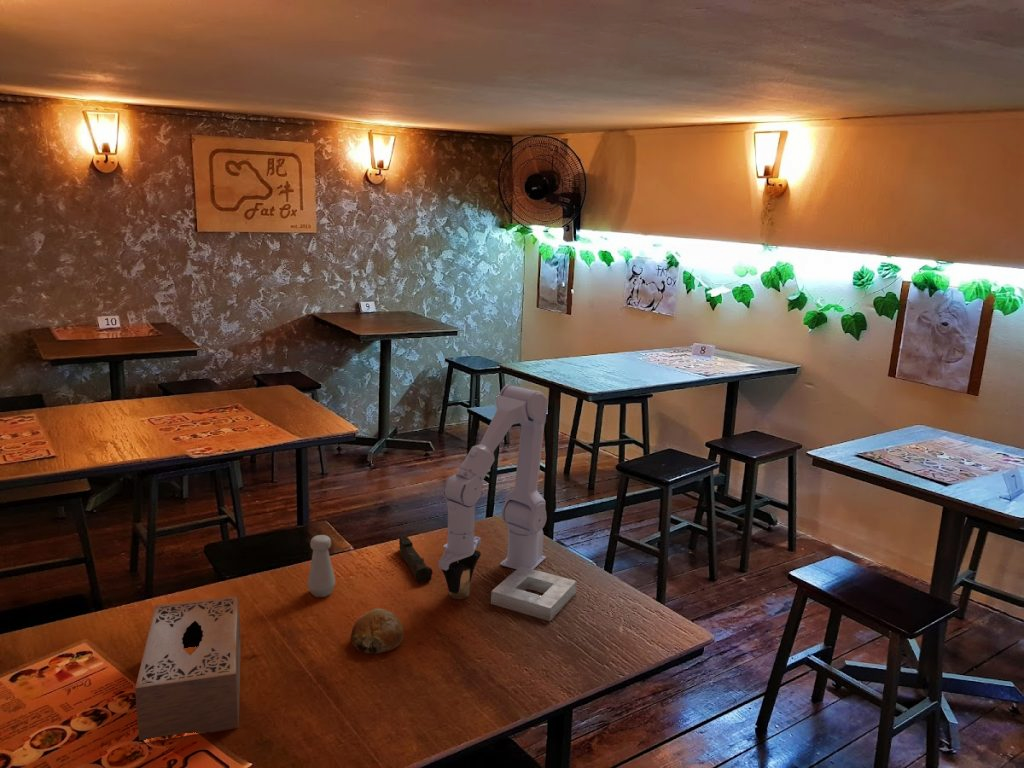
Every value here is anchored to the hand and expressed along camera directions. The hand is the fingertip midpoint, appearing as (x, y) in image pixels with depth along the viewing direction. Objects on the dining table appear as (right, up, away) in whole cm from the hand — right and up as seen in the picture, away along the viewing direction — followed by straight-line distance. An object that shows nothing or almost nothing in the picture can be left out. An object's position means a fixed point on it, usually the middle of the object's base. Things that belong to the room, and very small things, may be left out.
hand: (459, 587), depth 166 cm
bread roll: (-15, -6, -19) cm, 25 cm away
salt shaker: (-30, -1, -1) cm, 30 cm away
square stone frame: (+16, -2, 0) cm, 17 cm away
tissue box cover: (-43, -8, -35) cm, 57 cm away
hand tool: (-13, +1, +13) cm, 18 cm away
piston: (0, -2, 0) cm, 2 cm away
